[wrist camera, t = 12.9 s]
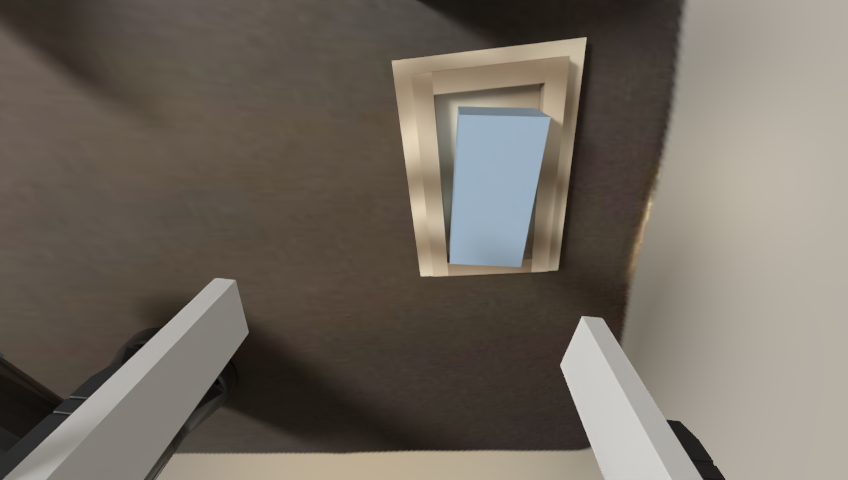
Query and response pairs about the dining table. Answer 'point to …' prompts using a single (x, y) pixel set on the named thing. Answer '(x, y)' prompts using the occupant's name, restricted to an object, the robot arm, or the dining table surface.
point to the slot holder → (436, 137)
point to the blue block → (495, 183)
